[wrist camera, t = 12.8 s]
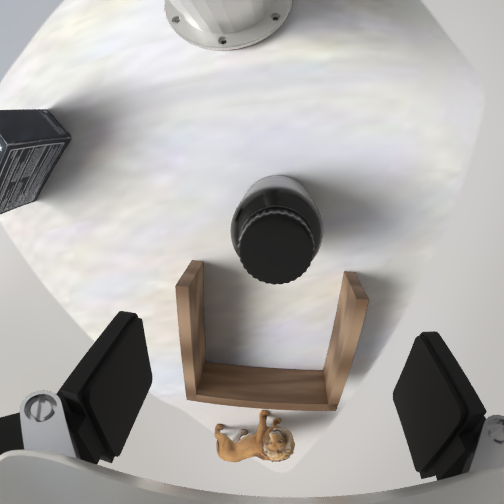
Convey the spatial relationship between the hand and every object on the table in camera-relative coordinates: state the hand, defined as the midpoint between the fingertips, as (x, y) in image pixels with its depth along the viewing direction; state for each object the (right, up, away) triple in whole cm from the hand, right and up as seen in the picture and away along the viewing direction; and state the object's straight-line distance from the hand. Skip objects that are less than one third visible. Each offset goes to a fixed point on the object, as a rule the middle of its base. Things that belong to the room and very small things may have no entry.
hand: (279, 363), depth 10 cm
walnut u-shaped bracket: (+1, -4, +25) cm, 26 cm away
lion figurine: (-1, -21, +32) cm, 39 cm away
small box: (-27, +15, +20) cm, 37 cm away
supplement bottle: (+2, +8, +21) cm, 22 cm away
